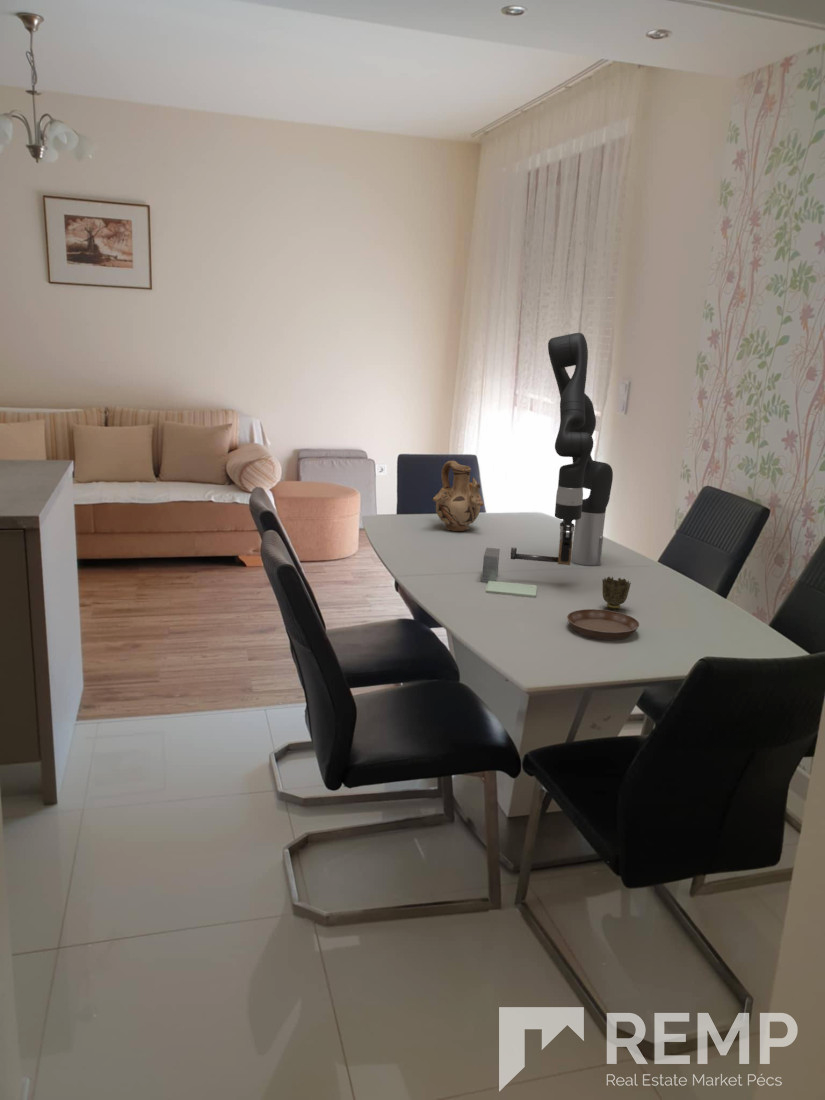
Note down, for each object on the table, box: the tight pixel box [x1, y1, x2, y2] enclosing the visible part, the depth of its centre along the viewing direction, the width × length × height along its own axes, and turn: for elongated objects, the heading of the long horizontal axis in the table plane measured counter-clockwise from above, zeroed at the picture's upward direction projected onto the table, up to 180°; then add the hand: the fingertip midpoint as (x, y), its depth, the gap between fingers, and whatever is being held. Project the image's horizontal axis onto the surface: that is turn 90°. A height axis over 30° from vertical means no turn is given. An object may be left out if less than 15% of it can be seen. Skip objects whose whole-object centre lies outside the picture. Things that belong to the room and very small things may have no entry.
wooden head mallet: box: [510, 539, 573, 566], centre depth 245 cm, size 17×4×7 cm, turn 82°
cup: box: [601, 576, 631, 611], centre depth 226 cm, size 8×7×8 cm
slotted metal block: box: [481, 547, 501, 584], centre depth 249 cm, size 4×10×8 cm, turn 170°
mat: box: [485, 580, 538, 598], centre depth 239 cm, size 14×10×1 cm
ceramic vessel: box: [432, 460, 485, 532], centre depth 308 cm, size 18×19×25 cm
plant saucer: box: [566, 608, 640, 641], centre depth 209 cm, size 18×18×3 cm
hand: (564, 559), depth 244 cm, fingers closed on wooden head mallet, 3 cm apart
